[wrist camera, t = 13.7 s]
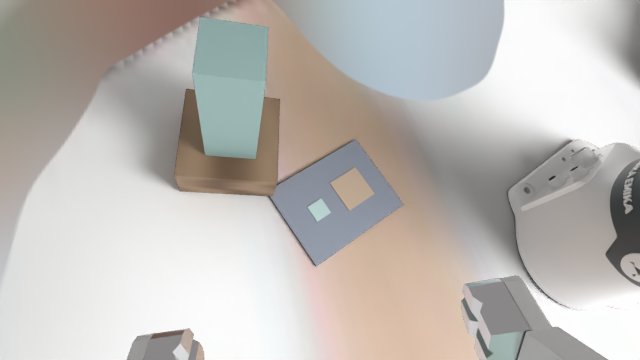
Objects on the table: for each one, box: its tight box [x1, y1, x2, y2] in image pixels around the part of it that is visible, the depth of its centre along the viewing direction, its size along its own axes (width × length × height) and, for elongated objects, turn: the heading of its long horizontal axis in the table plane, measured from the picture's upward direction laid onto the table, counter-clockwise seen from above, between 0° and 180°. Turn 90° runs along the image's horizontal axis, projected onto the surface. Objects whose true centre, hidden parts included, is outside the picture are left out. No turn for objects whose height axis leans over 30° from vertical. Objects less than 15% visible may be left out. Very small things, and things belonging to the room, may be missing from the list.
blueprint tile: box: [269, 140, 403, 266], centre depth 40 cm, size 12×9×1 cm
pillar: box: [192, 17, 268, 159], centre depth 30 cm, size 4×4×12 cm
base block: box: [174, 89, 280, 196], centre depth 37 cm, size 9×9×4 cm
